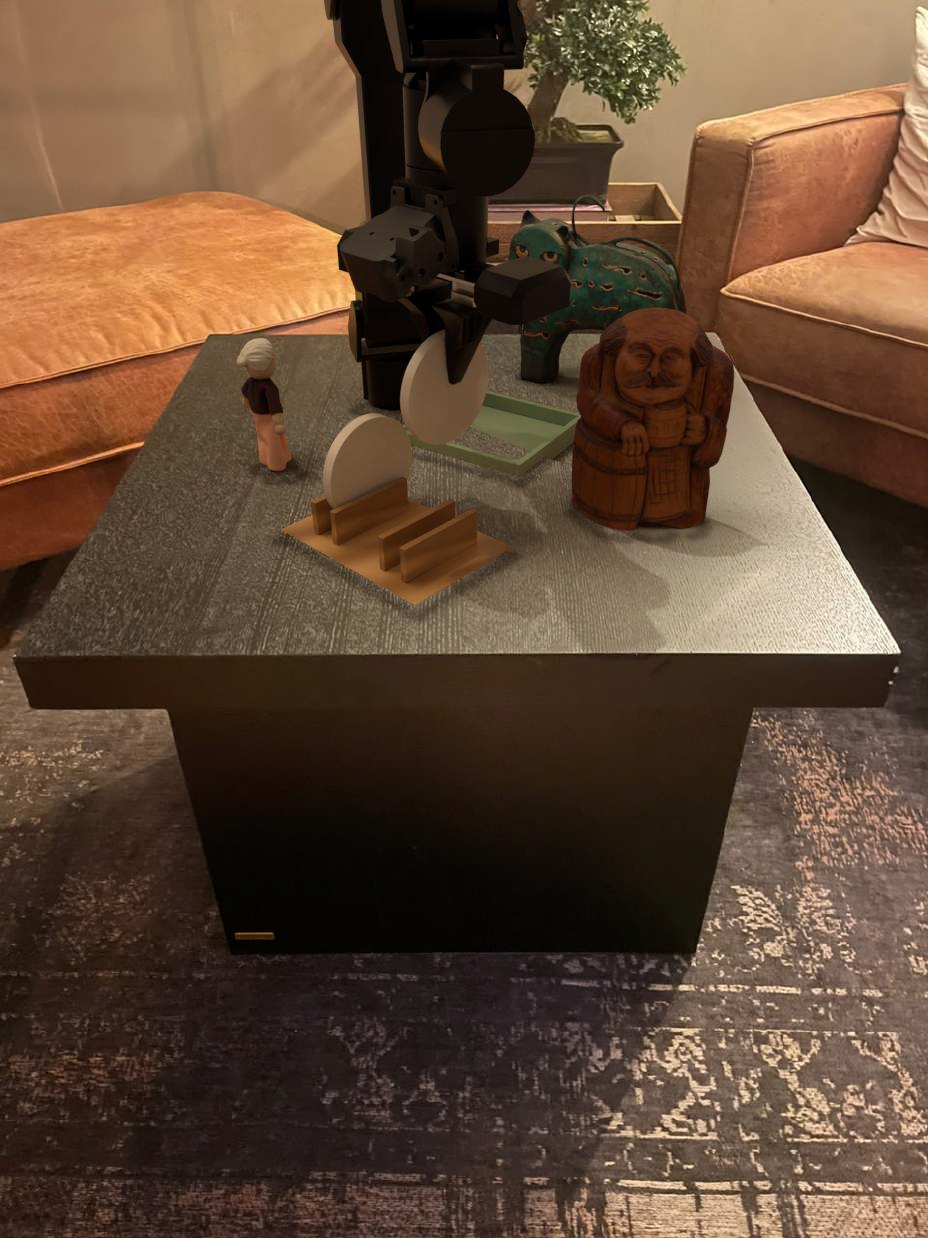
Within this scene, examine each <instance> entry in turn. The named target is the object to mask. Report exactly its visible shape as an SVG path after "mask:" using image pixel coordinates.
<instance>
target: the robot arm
mask: <svg viewBox="0 0 928 1238" xmlns="http://www.w3.org/2000/svg"><path fill="white" fill-rule="evenodd" d="M323 4H324V12H325V16H326V20H327V21H332V26H333V37H334V38H333V39H334V43H335V45H336V46H337V49H338V50H339V51H340V53H341V55H342V57H343V58H344V60H345V61H346V63H347V65H348V66H349V68H350V70H351V72H352V73H353V75H354V78H355V87H356V88H355V89H356V101H357V117H358V129H359V130H358V131H359V143H360V157H361V158H360V159H361V171H362V172H361V173H362V182H363V183H362V184H363V185H362V186H363V197H364V209H365V210H364V213H365V224H363V225H360V226H356V227H352V228H348V229H345V230H344V231H343V233H342V235H341V237H340V238H339V240H338V242H337V244H336V250H337V264H338V265H337V266H338V271H341V272H345V273H348V275H349V278H350V280H351V284H352V287H353V289H354V294H355V295H354V296H355V298H354V300H350V304H349V305H350V306H349V312H348V320H347V333H348V342H349V349H350V351H351V353H352V355H353V357H354V359H355V362H356V363H360V365H361V376H362V377H361V380H362V393H363V394H362V395H363V399H364V400H366V401H368V403H369V404H370V406H372V407H373V408H375V409H378V410H382V411H391V412H392V411H393V412H394V411H401V408H400V393H401V386H402V382H403V377H404V374H405V371H406V369H407V367H408V364H409V362H410V360H411V358H412V357H413V355H414V353H415V352H416V350H417V349H418V348H419V347H420V345H421V344H422V343H423V342H424V341H425V340H426V339H427V338H429V337H430V336H431V335H433V334H435V333H436V332H439V331H441V330H445V344H446V365H447V373H448V379H449V383H450V384H452V385H454V384H457V383H459V382H461V381H462V379H463V377H464V375H465V373H466V371H467V369H468V367H469V364H470V362H471V360H472V358H473V356H474V354H475V352H476V350H477V348H478V346H479V343H481V341H482V340H483V337H484V335H485V334H486V331H487V330H488V328H489V326H490V325H491V323H492V321H493V320H494V321H497V322H499V323H503V324H506V325H509V326H523V324H525V323H528V322H531V321H533V320H536V319H538V318H541V317H544V316H546V315H549V314H551V313H554V312H556V311H559V310H562V309H564V308H567V307H569V301H570V287H571V282H570V276H569V275H568V273H567V272H566V270H565V269H564V268H563V266H561V265H557V264H554V263H550V262H546V261H542V260H538V259H535V258H531V257H527V256H523V257H520V258H517V259H514V260H511V261H510V260H508V261H505V262H502V263H498V264H493V263H488V262H487V260H488V259H487V258H490V257H494V256H496V255H499V254H500V239H499V238H494V237H491V236H489V233H488V232H489V197H494V196H496V195H500V194H503V193H504V192H506V191H508V190H510V189H511V188H513V187H514V186H515V185H516V184H517V183H518V182H519V181H520V180H521V179H522V178H523V176H524V175H525V173H526V172H527V170H528V169H529V166H530V164H531V162H532V160H533V157H534V151H535V145H536V132H535V129H534V126H533V121H532V117H531V116H530V113H529V111H528V110H527V107H526V106H525V105H524V104H523V102H522V101H521V100H520V98H518V97H517V96H516V95H514V94H513V93H511V92H510V91H508V90H507V89H505V71H514V70H515V71H516V70H523V69H524V66H525V56H524V53H525V50H526V46H527V43H528V39H529V37H528V33H527V32H528V31H527V29H526V24H525V23H526V22H525V19H524V15H523V10H522V6H521V1H520V0H323Z"/></svg>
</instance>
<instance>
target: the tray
mask: <svg viewBox="0 0 928 1238" xmlns="http://www.w3.org/2000/svg"><path fill="white" fill-rule="evenodd" d="M580 417H581V415H580V413H579V412H575V411H570V410H567V409H562V408H559V407H555V406H551V405H547V404H542V403H539V402H534V401H531V400H527V399H522V398H519V397H514V396H510V395H506V394H503V393H499V392H493V391H490V390H487V391H486V395H485V398H484V401H483V404H482V406H481V409H480V411H479V413H478V415H477V416H476V418H475V420H474V421H473V423H472V424H471V425H470V427H469V428H471V429H473V430H476V431H478V432H481V433H484V434H486V435H489V436H491V437H494V438H497V439H499V440H500V441H504V442H506V443H509V444H512V445H515V446H517V447H520V448H522V449H525V450H527V451H529V452H528V453H527V454H525V455H524V456H523V457H522V458H520V459H518V461H517V460H513V459H510V458H505V457H503V456H498V455H496V454H492V453H488V452H486V451H482V450H478V449H474V448H471V447H468V446H464V445H461V444H457V443H454V442H450V443H447V444H444V445H431V444H428V443H426V442H423V441H421V440H419V439H417V438H416V437H414V436H413V435H412V434H411V433H410V432H409V430H408V429H407V427H406V426H405V423H404V422H403V423H402V425H403V427H404V428H405V429H406V431H407V433H408V435H409V438H410V441H411V446H412V447H416V448H419V449H423V450H426V451H429V452H433V453H437V454H440V455H443V456H446V457H450V458H454V459H457V460H461V461H464V462H466V463H467V462H468V463H471V464H474V465H478V466H481V467H485V468H488V469H490V470H491V469H492V470H495V471H498V472H501V473H505V474H507V475H512V476H515V477H517V478H520V477H521V476H522V475H524V474H525V473H527V472H528V471H529V470H530V469H532V468H533V467H534V466H535V465H536V464H538V463H539V462H540V461H542V460H543V459H545V458H547V459H549V460H553V459H555V458H556V457H558V455H560V454H561V453H562V452H564V451H565V450H567V448H569V447H570V446H571V445H572V444H573V443H574V435H575V428H576V424H577V421H578V419H580Z"/></svg>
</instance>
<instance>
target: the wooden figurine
mask: <svg viewBox="0 0 928 1238" xmlns="http://www.w3.org/2000/svg"><path fill="white" fill-rule="evenodd" d="M579 368H580V369H579V378H578V379H579V380H578V381H579V382H578V390H577V394H576V400H575V402H576V408H577V411H578V413H579V414H580V415H581V417H580V419H578V421H577V424H576V428H575V435H574V443H572V444H573V446H572V454H571V455H572V457H571V501H572V505H573V507H574V508H575V509H576V510H577V511H578V512H579V513H580V514H582V515H583V517H585V518H587V519H588V520H589V521H592V522H594V523H596V524H598V525H600V526H603V527H606V528H609V529H610V528H611V529H613V530H619V531H633V530H635V529H636V528H647V529H648V528H649V529H660V528H669V527H670V528H675V529H681V530H682V529H683V530H685V529H692V528H696V527H698V526H700V525H702V524H703V523H704V522H705V519H706V515H707V509H708V508H707V507H708V502H709V501H708V500H709V493H710V485H711V473H710V472H711V471H710V469H711V468H713V467H715V466H716V465H718V464H719V462H720V460H721V457H722V455H723V452H724V448H725V442H726V438H727V433H728V428H727V427H728V422H729V418H730V413H731V406H732V399H733V394H734V387H735V386H734V384H735V367H734V363H733V361H732V359H731V358H730V356H729V355H728V353H726V352H725V351H723V350H722V349H720V348H718V347H717V346H716V345H715V346H714V345H713V344H712V342H711V340H710V339H709V337H708V335H707V333H706V332H705V330H704V329H703V327H702V326H701V325H700V324H699V323H698V322H697V321H696V320H695V319H694V318H693V317H691V316H690V315H688V314H687V315H686V314H684V313H682V312H680V311H677V310H673V309H667V308H645V309H639V310H635V311H633V312H630V313H628V314H626V315H624V316H623V317H621V318H619V319H617V320H616V321H614V322H613V323H612V324H611V325H610V326H609V327H608V328H606V329H605V330H604V331H603V330H602V332H601V334H600V335H599V343H596V344H594V345H592V346H591V347H590V348H588V349H587V350H586V351H584V353H583V355H582V356H581V360H580V367H579Z"/></svg>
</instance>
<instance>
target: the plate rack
mask: <svg viewBox="0 0 928 1238" xmlns="http://www.w3.org/2000/svg"><path fill="white" fill-rule="evenodd" d="M310 505H311V508H310V509H311V515H308V516H306V517H304V518H302V519H300V520H298V521H296V522H294V523H292V524H290V525H288V526H285V527H284V528H281V529H280V530H281V531H282V532H284V533H286V534H287V535H289V536H291V537H292V538H294V539H296V540H298V541H300V542H302V543H303V544H305V545H307V546H309V547H311V548H312V549H315V550H316V551H318V552H319V553H322V554H323V555H325V556H326V557H328V558H330V559H332V560H333V561H336V562H337V563H339V564H341V565H343V566H345V567H347V568H348V569H350V570H352V571H353V572H355V573H357V574H359V575H361V576H362V577H364V578H366V579H367V580H369V581H371V582H373V583H375V584H377V585H379V586H380V587H382V588H384V590H385V589H386V590H387V591H389V592H391V593H392V594H394V595H396V596H397V597H399V598H401V599H403V600H405V601H406V602H409V603H410V604H412V605H413V606H417V605H419V604H421V603H422V602H424V601H426V600H427V599H429V598H430V597H432V596H434V595H436V594H438V593H439V592H440V591H443V590H445V588H447V587H449V586H451V585H452V584H455V583H456V582H457V581H459V580H461V579H463V578H464V577H466V576H468V575H469V574H471V573H472V572H474V571H476V570H478V569H480V568H481V567H482V566H484V565H486V564H487V563H489V562H491V561H493V560H495V559H497V557H500V556H501V555H503V554H504V553H506V552H508V551H510V550H511V549H512V548H513V546H511V545H508V544H506V543H504V542H503V541H500V540H498V539H496V538H494V537H492V536H490V535H488V534H486V533H483V532H481V531H479V530H478V511H477V510H476V509H474V508H471V509H469V510H466V511H465V512H463V513H461V514H459V515H457V516H456V500H454V499H453V498H448V499H446V500H445V501H443V502H441V503H439V504H437V505H435V506H434V507H432V508H430V507H429V506H426V505H424V504H422V503H420V502H417V501H416V500H414V499H411V498H409V490H408V480H407V479H406V478H404V477H401V478H399V479H397V480H395V481H392V482H390V483H388V484H386V485H384V486H382V487H380V488H378V489H376V490H373V491H371V492H369V493H367V494H365V495H363V496H361V497H359V498H357V499H355V500H352V501H350V502H348V503H346V504H344V505H342V506H340V507H338V508H336V509H332V508H331V506H330V505H329V503H328V501H327V499H326V497H325V494H323V495H321V496H318V497H317V498H315V499H313V500H311V501H310Z"/></svg>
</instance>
